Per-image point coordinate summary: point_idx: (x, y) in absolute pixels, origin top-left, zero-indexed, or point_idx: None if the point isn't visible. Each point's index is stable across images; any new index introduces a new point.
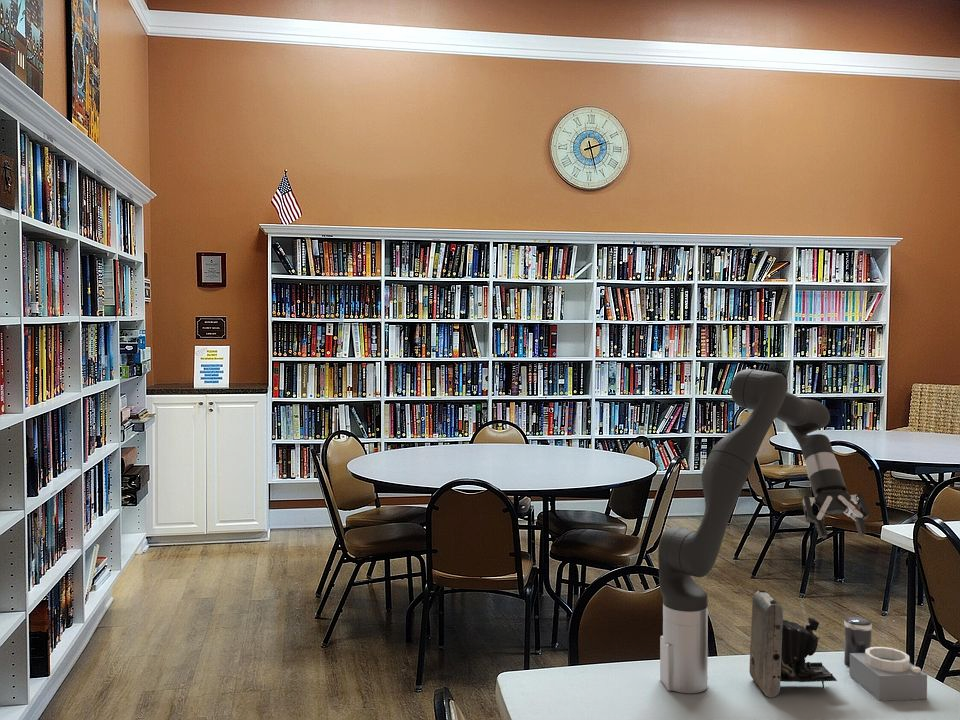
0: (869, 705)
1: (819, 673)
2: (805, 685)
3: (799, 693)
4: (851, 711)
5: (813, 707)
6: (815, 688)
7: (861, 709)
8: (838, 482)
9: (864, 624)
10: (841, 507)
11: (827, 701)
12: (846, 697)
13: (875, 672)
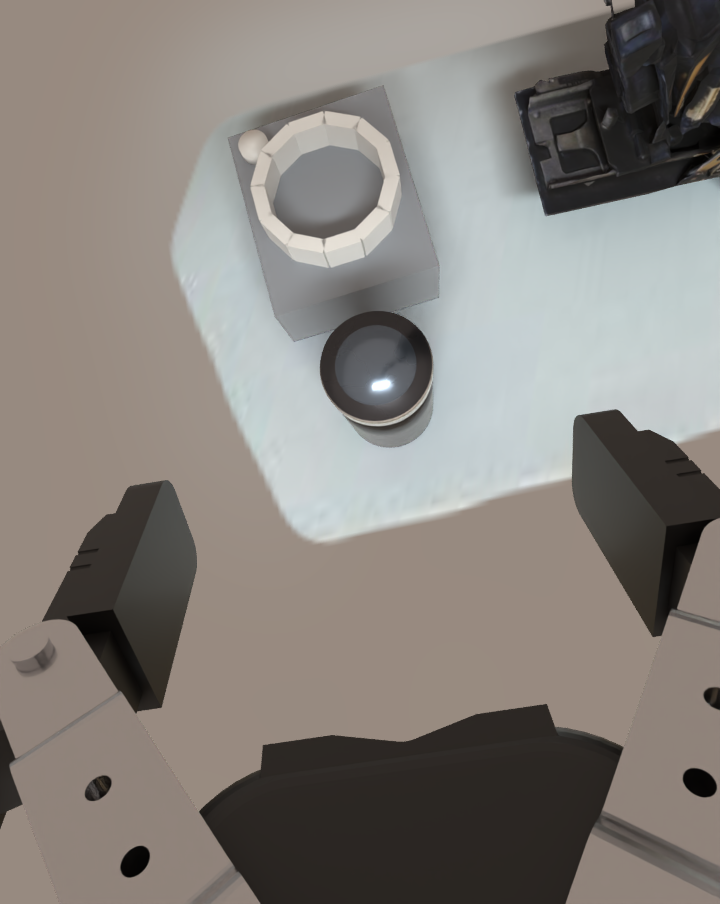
0: (425, 97)
1: (566, 133)
2: None
3: None
4: (485, 45)
5: (591, 40)
6: None
7: (454, 65)
8: None
9: (359, 318)
10: (301, 790)
11: None
12: (481, 133)
13: (388, 113)
